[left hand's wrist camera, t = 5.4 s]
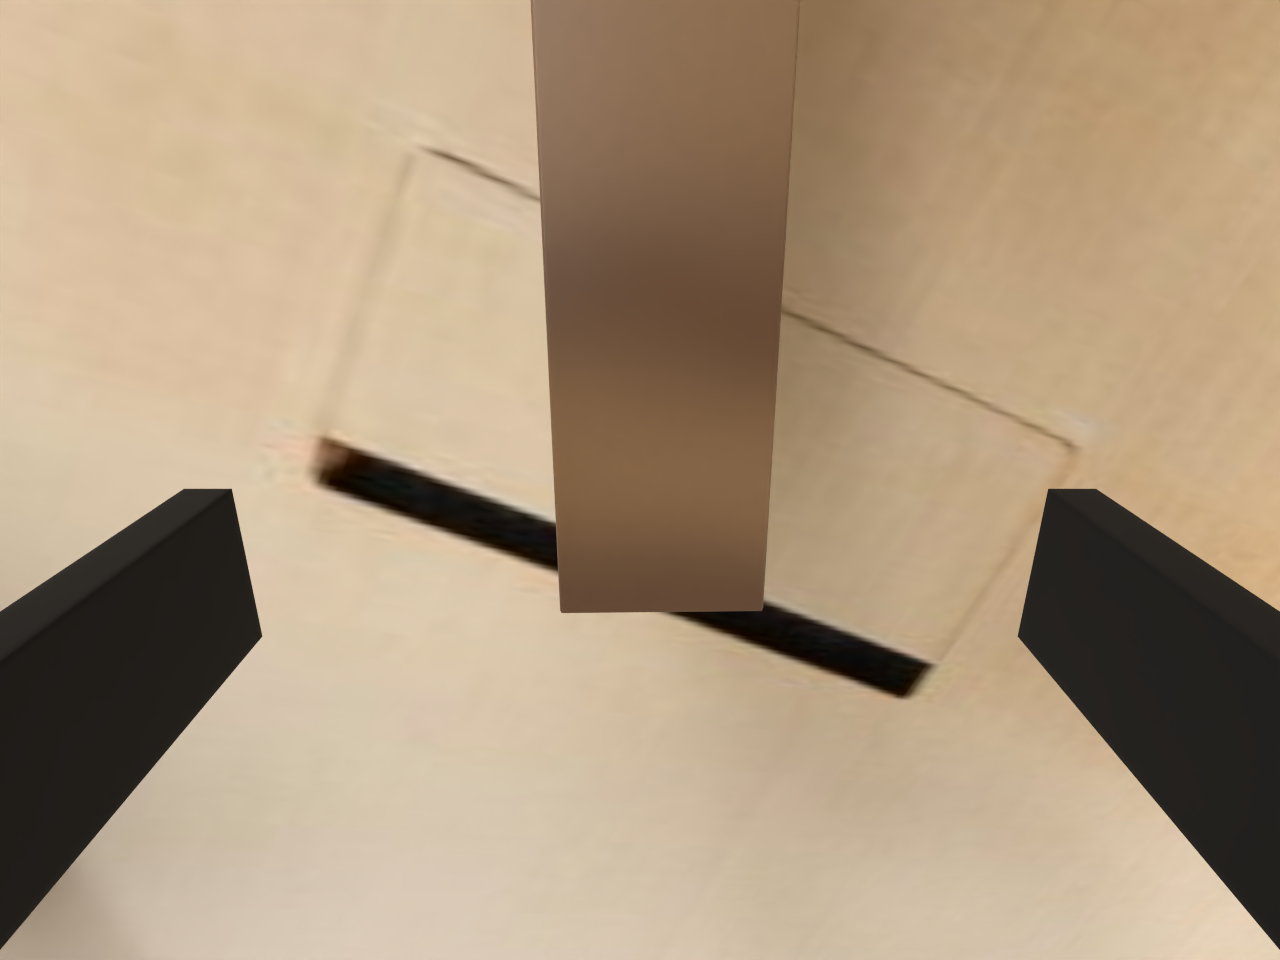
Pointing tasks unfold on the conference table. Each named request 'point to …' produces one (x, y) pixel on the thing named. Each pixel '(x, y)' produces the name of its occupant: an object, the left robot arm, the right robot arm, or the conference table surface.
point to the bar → (663, 291)
